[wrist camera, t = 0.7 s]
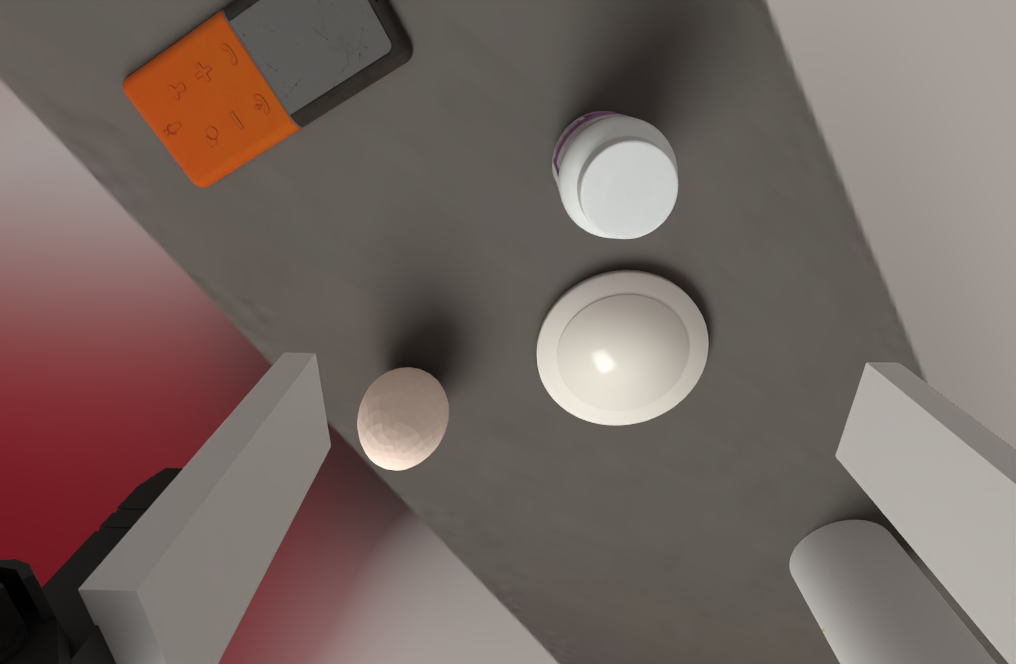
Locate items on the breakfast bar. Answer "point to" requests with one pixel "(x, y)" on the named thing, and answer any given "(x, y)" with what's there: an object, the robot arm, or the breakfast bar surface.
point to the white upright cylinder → (877, 600)
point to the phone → (262, 76)
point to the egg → (402, 418)
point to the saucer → (622, 347)
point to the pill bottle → (615, 175)
